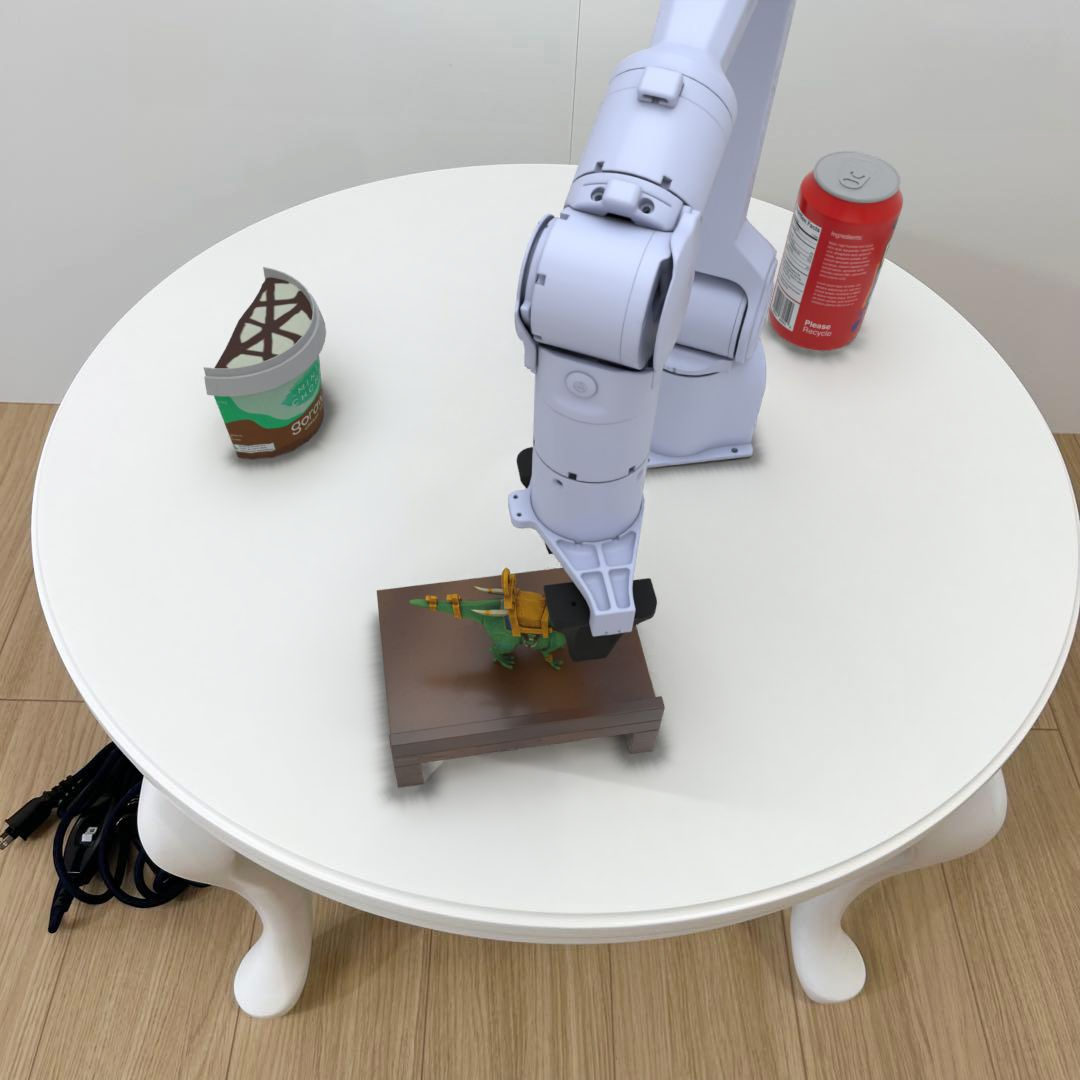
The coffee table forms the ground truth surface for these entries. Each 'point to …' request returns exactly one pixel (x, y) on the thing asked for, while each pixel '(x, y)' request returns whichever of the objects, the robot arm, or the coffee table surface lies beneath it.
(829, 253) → the soda can
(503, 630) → the figurine
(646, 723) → the display stand
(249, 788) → the coffee table surface
